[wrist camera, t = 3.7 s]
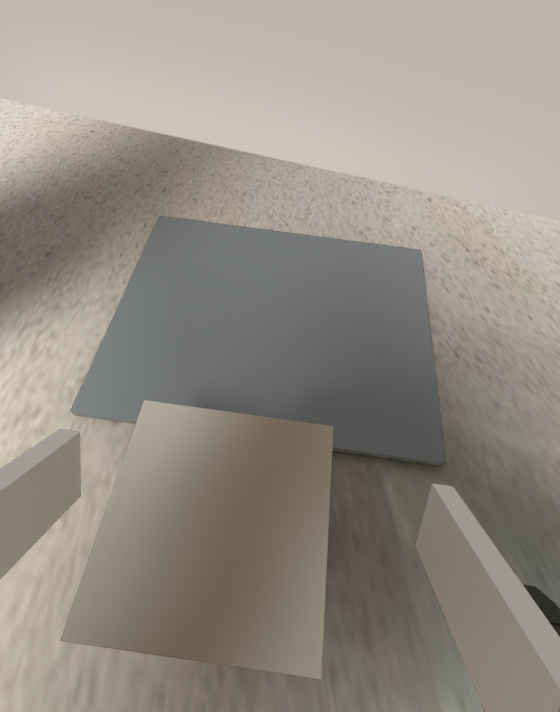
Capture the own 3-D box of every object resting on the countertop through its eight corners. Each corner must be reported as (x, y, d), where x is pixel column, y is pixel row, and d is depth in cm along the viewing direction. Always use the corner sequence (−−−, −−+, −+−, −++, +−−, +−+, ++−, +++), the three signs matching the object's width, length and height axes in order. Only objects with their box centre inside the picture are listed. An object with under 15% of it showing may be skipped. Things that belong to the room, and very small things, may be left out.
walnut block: (179, 594, 15) (59, 641, 6) (203, 487, 18) (144, 400, 8) (281, 609, 15) (321, 679, 6) (292, 500, 18) (333, 426, 8)
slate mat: (74, 415, 19) (70, 411, 19) (161, 222, 27) (159, 215, 27) (440, 466, 19) (445, 463, 18) (417, 256, 27) (420, 249, 27)
